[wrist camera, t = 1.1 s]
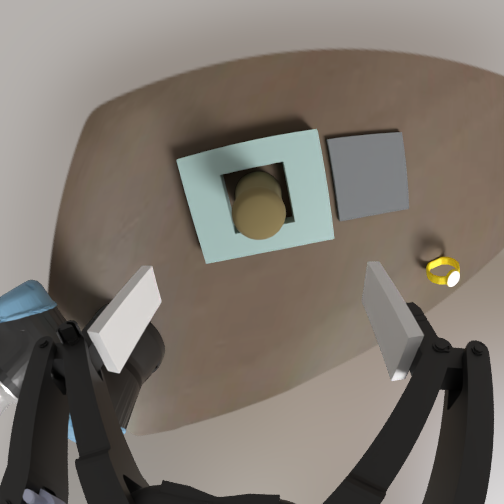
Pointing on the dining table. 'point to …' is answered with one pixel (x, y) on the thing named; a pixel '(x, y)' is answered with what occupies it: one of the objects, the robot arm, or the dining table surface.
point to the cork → (258, 206)
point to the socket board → (248, 156)
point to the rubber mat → (369, 174)
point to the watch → (450, 277)
